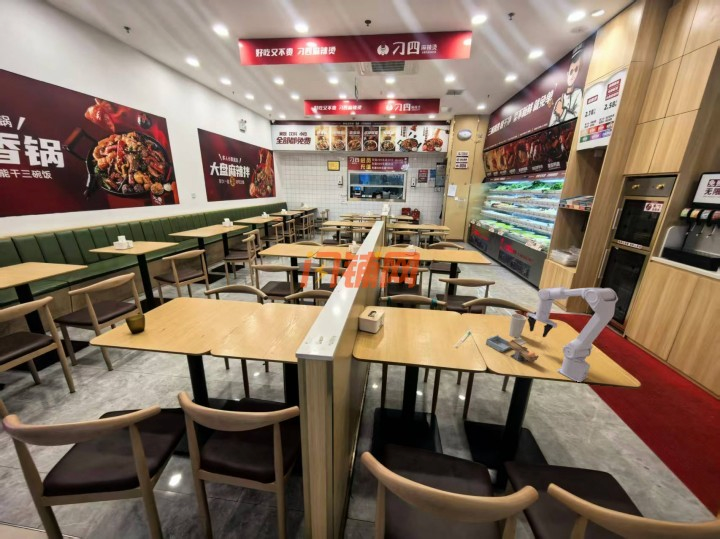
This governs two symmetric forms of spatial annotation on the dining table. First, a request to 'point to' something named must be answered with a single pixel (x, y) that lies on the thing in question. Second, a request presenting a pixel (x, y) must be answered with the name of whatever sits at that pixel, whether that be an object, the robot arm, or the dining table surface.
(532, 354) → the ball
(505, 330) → the dining table surface
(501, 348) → the tray
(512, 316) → the cup
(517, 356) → the stand
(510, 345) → the seesaw
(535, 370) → the dining table surface
